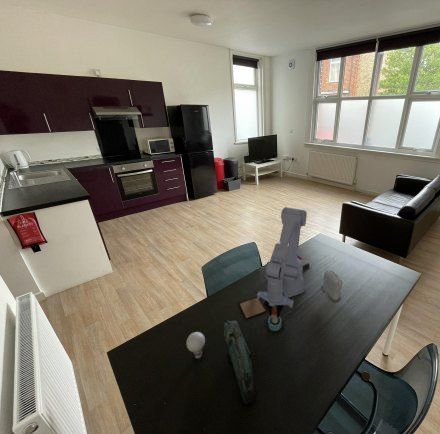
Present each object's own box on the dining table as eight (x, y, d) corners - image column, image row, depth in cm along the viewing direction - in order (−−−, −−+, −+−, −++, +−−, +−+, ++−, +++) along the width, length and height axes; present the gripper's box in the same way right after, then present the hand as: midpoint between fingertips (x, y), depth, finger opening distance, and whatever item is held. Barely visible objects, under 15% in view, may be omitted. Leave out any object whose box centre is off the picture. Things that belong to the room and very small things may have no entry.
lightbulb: (198, 368, 83) (193, 347, 78) (185, 358, 86) (180, 338, 81) (211, 353, 88) (207, 333, 83) (199, 345, 91) (195, 325, 86)
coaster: (257, 297, 113) (257, 297, 113) (265, 311, 106) (265, 310, 106) (239, 304, 110) (239, 303, 110) (246, 318, 102) (246, 317, 102)
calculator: (309, 262, 132) (289, 271, 124) (309, 269, 134) (288, 278, 126) (297, 253, 140) (276, 261, 132) (296, 259, 142) (276, 267, 134)
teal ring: (277, 318, 103) (277, 313, 101) (283, 328, 98) (283, 323, 97) (266, 322, 101) (266, 317, 99) (271, 333, 96) (271, 327, 95)
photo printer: (340, 298, 113) (344, 278, 108) (333, 301, 111) (336, 280, 106) (328, 285, 121) (331, 265, 116) (321, 287, 120) (323, 267, 115)
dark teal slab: (225, 352, 88) (220, 313, 80) (242, 346, 91) (239, 307, 82) (240, 409, 72) (236, 368, 63) (260, 400, 74) (259, 359, 66)
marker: (276, 317, 100) (276, 305, 97) (279, 322, 98) (279, 310, 95) (270, 319, 99) (270, 308, 96) (273, 324, 97) (273, 312, 94)
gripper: (253, 290, 90) (254, 316, 96) (290, 301, 85) (288, 327, 91) (260, 279, 96) (261, 304, 102) (295, 288, 91) (294, 314, 97)
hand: (274, 314), depth 97 cm, fingers closed on marker, 3 cm apart
